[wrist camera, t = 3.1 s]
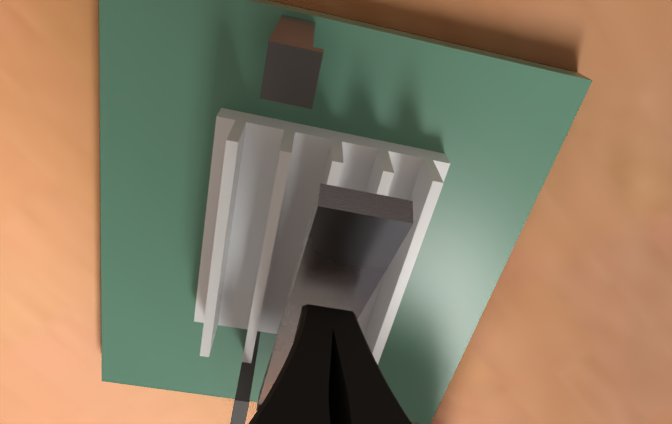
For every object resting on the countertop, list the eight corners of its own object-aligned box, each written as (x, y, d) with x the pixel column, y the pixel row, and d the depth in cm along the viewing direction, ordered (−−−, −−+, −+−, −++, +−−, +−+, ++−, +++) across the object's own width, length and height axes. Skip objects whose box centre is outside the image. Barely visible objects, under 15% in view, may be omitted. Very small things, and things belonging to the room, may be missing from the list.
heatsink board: (425, 407, 29) (447, 510, 24) (110, 363, 27) (59, 466, 22) (578, 72, 20) (668, 123, 15) (112, -37, 18) (23, -23, 12)
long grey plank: (303, 398, 23) (300, 419, 22) (259, 392, 22) (255, 413, 22) (412, 195, 11) (413, 229, 10) (321, 177, 10) (317, 212, 10)
